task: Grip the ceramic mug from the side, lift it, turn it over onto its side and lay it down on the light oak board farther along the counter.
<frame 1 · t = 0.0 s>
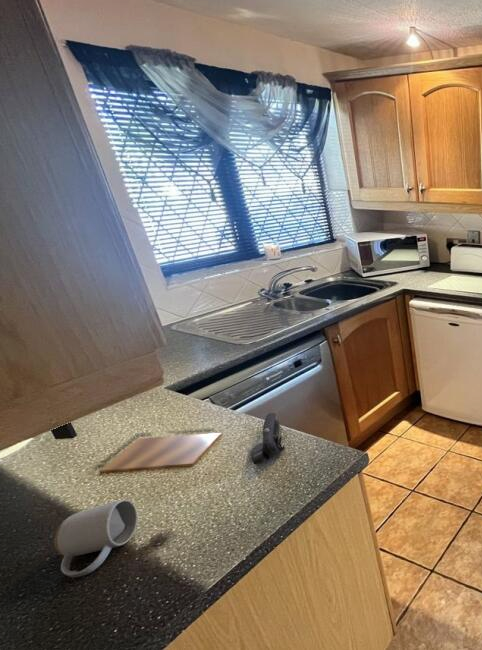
hand: (103, 413, 71), 22 cm above the counter, tool pointing down, fingers open, 13 cm apart
ceramic mug: (103, 550, 69), on the counter
oak board: (165, 452, 92), on the counter
can opener: (272, 443, 95), on the counter
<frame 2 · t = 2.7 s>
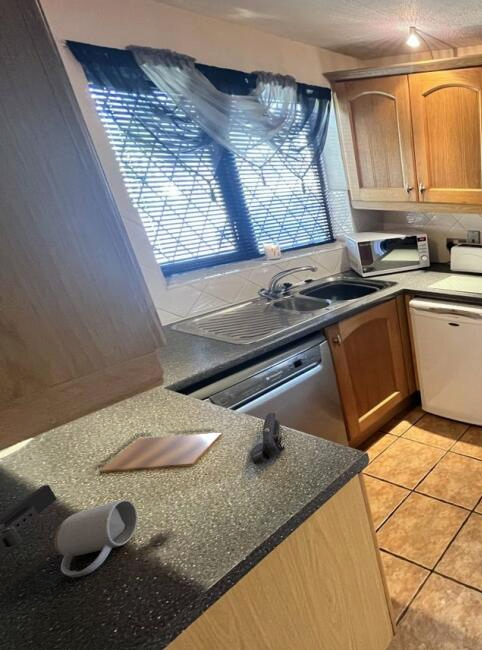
nothing on the counter moved.
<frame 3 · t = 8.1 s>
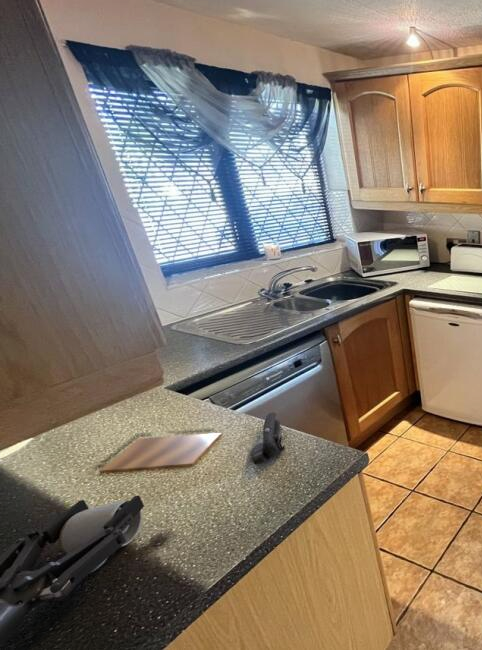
hand: (112, 503, 71), 6 cm above the counter, tool horizontal, fingers closed on ceramic mug, 9 cm apart
ceramic mug: (106, 549, 69), on the counter, touching gripper
everything else where it was.
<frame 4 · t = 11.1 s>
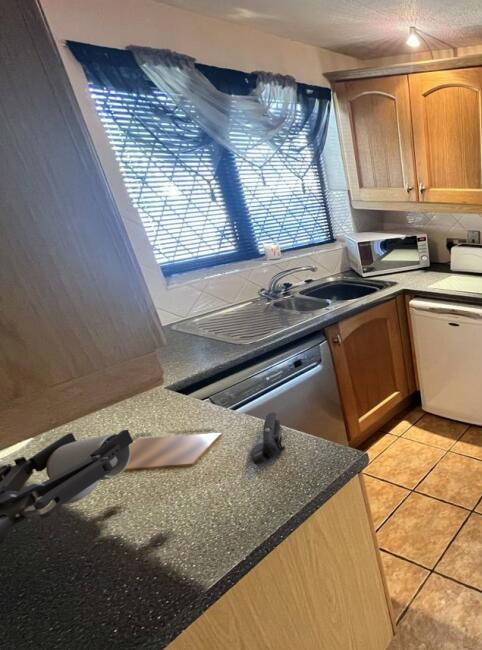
hand: (100, 437, 71), 18 cm above the counter, tool horizontal, fingers closed on ceramic mug, 9 cm apart
ceramic mug: (94, 482, 69), point 12 cm above the counter, touching gripper
everything else where it was.
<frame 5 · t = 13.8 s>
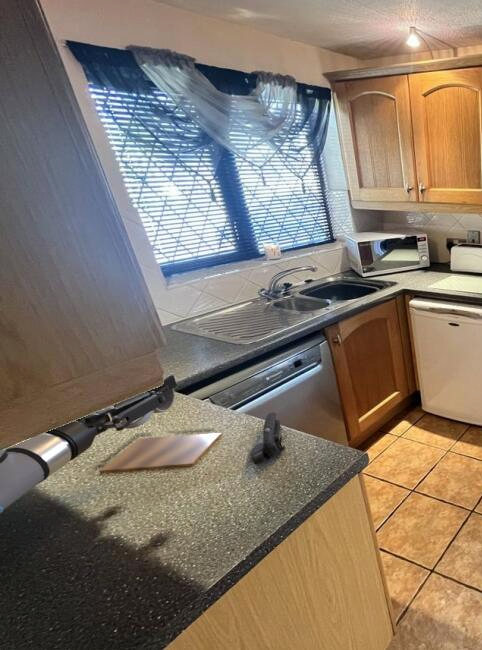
hand: (152, 381, 89), 18 cm above the counter, tool horizontal, fingers closed on ceramic mug, 9 cm apart
ceramic mug: (148, 415, 87), point 12 cm above the counter, touching gripper
everything else where it was.
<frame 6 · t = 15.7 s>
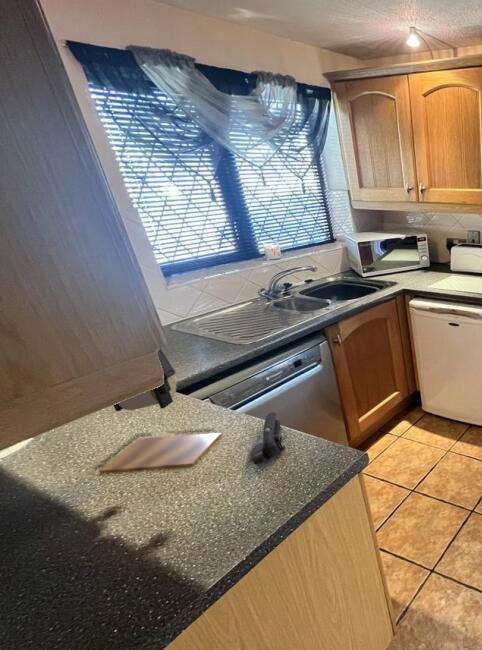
hand: (145, 406, 88), 13 cm above the counter, tool pointing down, fingers closed on ceramic mug, 9 cm apart
ceramic mug: (156, 376, 92), point 18 cm above the counter, touching gripper
everything else where it was.
when the fingers open (2 cm above the counter, at t = 19.6 s): ceramic mug stays where it is, resting on oak board.
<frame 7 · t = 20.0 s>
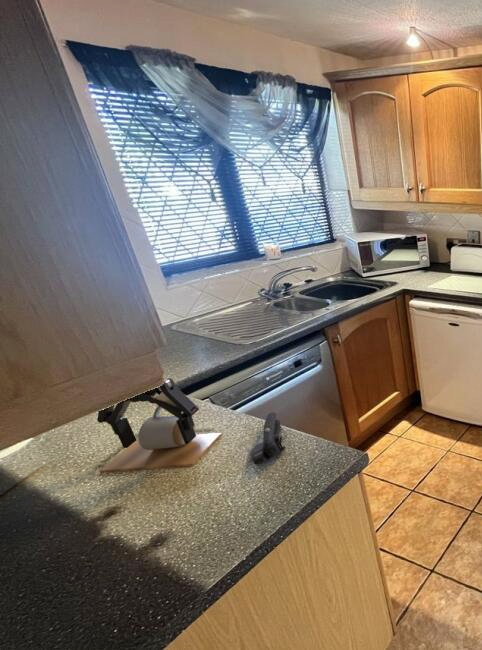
hand: (160, 442, 91), 3 cm above the counter, tool pointing down, fingers open, 13 cm apart
ceramic mug: (177, 417, 96), point 6 cm above the counter, touching oak board
everything else where it was.
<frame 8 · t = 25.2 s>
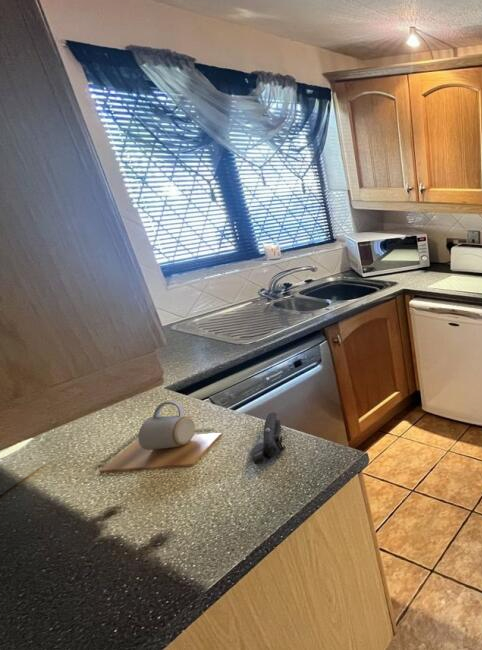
nothing on the counter moved.
at the end: ceramic mug tilted 90°; ceramic mug inside the target area on the oak board (6.0 cm from its centre), point 5.7 cm above the oak board's base; the gripper is holding nothing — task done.
